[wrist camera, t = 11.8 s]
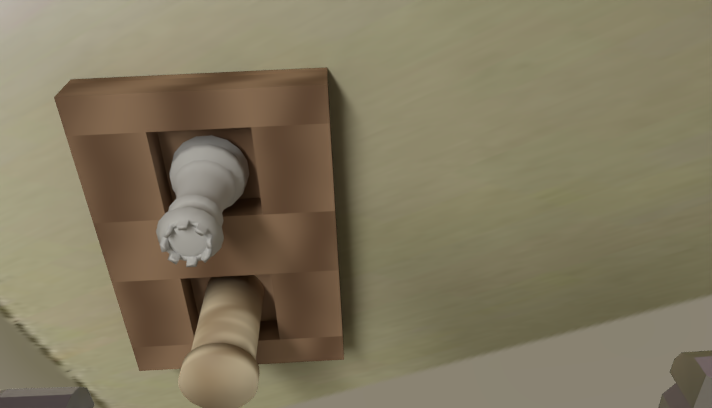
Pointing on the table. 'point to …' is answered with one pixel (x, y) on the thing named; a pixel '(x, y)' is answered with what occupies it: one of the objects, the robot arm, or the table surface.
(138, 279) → the pallet board
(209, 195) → the rook chess piece
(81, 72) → the table surface
